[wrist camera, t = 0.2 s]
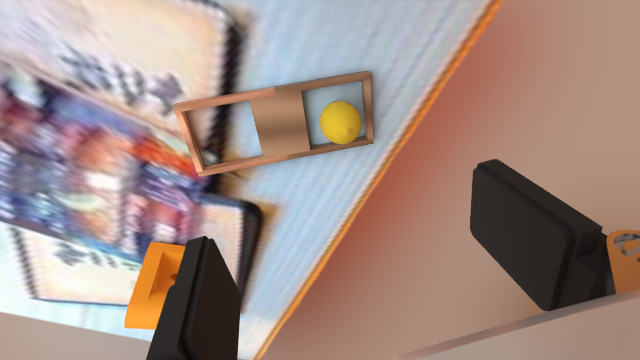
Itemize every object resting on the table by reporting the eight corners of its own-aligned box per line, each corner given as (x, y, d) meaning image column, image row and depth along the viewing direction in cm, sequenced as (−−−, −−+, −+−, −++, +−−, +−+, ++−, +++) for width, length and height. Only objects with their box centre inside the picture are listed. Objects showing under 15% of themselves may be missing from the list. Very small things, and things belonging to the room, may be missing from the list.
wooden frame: (175, 103, 42) (172, 106, 41) (367, 70, 45) (370, 72, 43) (200, 172, 48) (198, 176, 46) (370, 139, 50) (373, 143, 49)
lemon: (357, 122, 48) (373, 142, 41) (323, 136, 48) (334, 159, 42) (345, 88, 45) (361, 104, 38) (310, 104, 46) (319, 122, 39)
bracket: (189, 288, 59) (175, 349, 49) (147, 284, 57) (122, 347, 46) (198, 244, 54) (184, 301, 44) (152, 238, 52) (126, 296, 42)
